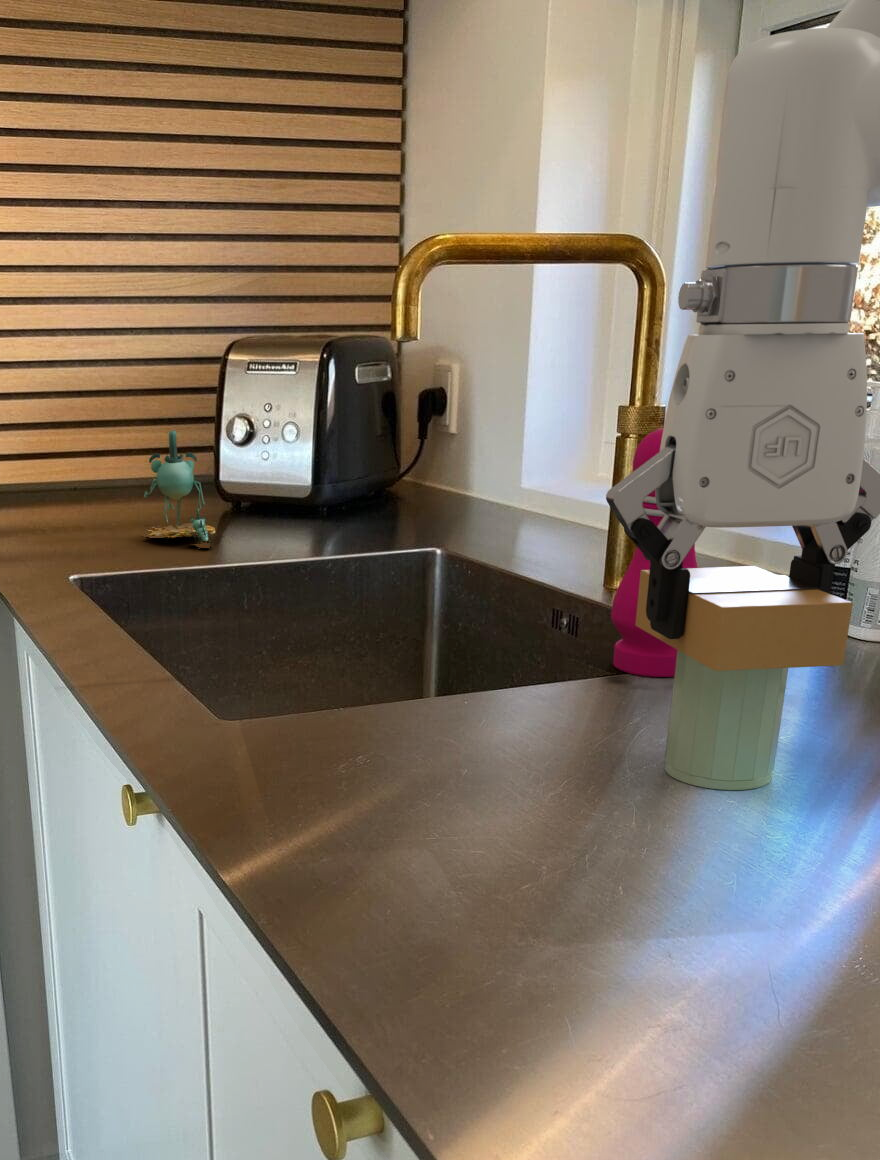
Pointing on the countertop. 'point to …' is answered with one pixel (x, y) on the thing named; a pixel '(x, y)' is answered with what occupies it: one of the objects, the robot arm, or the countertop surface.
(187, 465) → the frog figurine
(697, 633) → the packet
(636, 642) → the pepper mill
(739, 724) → the cup
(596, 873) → the countertop surface
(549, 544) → the countertop surface
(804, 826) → the countertop surface
